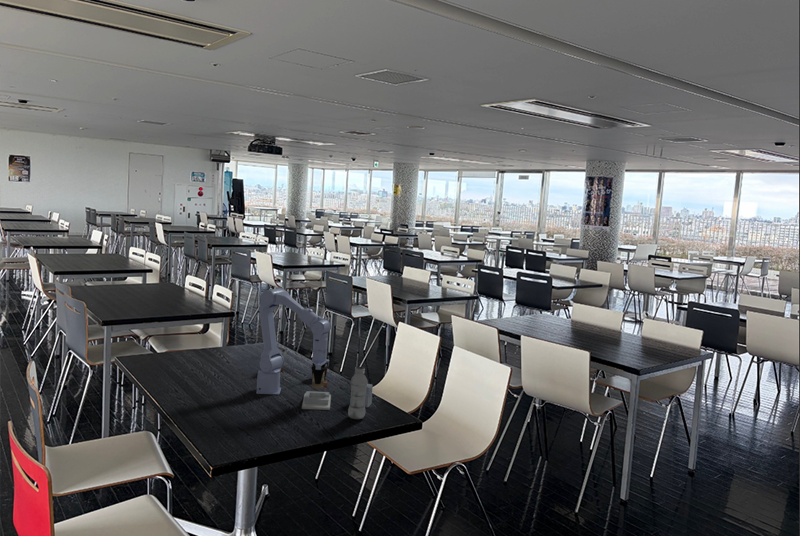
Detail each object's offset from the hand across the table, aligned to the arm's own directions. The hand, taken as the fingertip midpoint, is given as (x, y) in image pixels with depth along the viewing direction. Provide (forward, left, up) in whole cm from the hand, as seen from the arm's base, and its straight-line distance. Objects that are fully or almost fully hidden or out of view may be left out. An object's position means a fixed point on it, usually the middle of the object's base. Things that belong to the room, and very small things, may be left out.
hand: (318, 381), depth 242 cm
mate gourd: (-1, +30, -9) cm, 31 cm away
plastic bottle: (+16, -15, -9) cm, 24 cm away
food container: (-20, +39, -9) cm, 45 cm away
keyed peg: (0, 0, -2) cm, 2 cm away
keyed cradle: (0, 0, -9) cm, 9 cm away
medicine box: (+18, 0, -9) cm, 20 cm away
